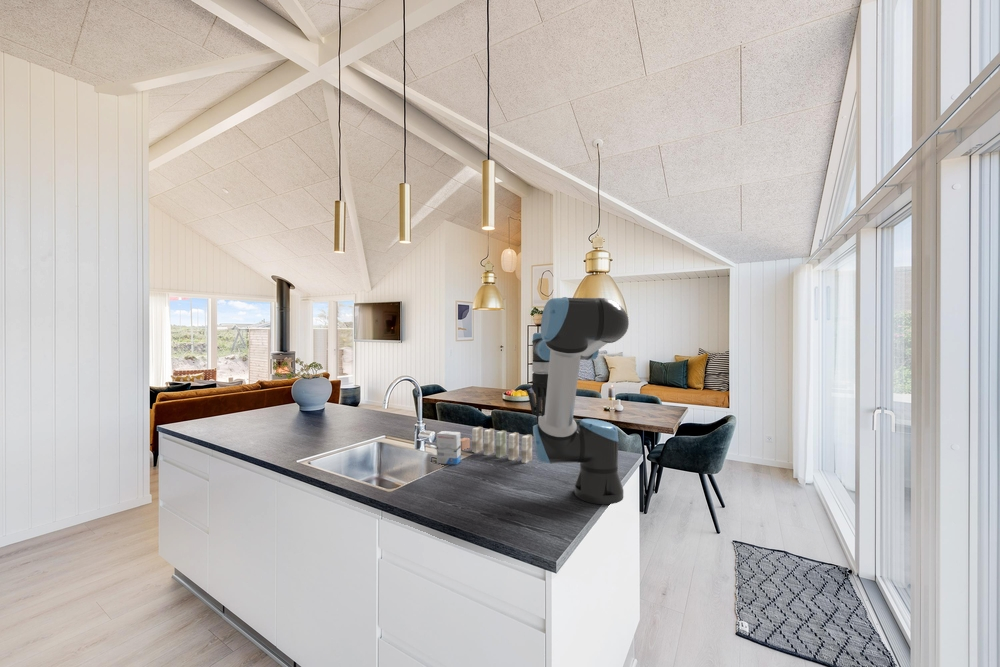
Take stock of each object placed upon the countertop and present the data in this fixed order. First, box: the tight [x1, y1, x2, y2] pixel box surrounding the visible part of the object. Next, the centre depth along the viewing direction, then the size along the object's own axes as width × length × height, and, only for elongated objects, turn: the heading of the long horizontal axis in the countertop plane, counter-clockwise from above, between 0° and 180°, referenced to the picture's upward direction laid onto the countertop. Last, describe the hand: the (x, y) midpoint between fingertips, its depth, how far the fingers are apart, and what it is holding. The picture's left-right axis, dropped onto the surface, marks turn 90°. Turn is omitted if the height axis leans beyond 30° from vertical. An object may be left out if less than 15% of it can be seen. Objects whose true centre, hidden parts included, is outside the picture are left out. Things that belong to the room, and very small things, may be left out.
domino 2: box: [483, 427, 495, 456], centre depth 173 cm, size 5×2×10 cm, turn 148°
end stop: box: [460, 437, 471, 451], centre depth 181 cm, size 6×3×4 cm, turn 148°
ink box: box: [435, 430, 462, 466], centre depth 162 cm, size 9×5×12 cm, turn 73°
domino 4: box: [508, 431, 520, 462], centre depth 167 cm, size 5×2×10 cm, turn 148°
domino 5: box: [521, 434, 533, 464], centre depth 164 cm, size 5×2×10 cm, turn 148°
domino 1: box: [471, 426, 484, 454], centre depth 177 cm, size 5×2×10 cm, turn 148°
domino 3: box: [495, 429, 508, 459], centre depth 170 cm, size 5×2×10 cm, turn 148°
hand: (541, 433), depth 161 cm, fingers closed
